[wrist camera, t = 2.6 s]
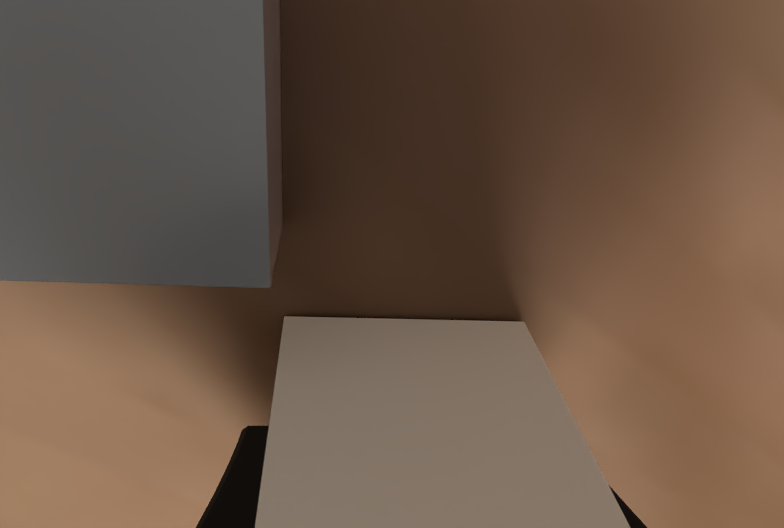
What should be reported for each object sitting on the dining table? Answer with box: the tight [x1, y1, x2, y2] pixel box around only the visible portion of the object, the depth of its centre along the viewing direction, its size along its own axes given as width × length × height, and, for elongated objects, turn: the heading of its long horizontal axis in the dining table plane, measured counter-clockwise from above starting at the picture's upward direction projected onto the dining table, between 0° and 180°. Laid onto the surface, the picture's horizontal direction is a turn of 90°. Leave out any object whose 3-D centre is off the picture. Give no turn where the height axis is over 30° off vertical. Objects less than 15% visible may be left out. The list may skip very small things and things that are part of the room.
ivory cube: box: [255, 316, 630, 528], centre depth 10 cm, size 5×5×5 cm
